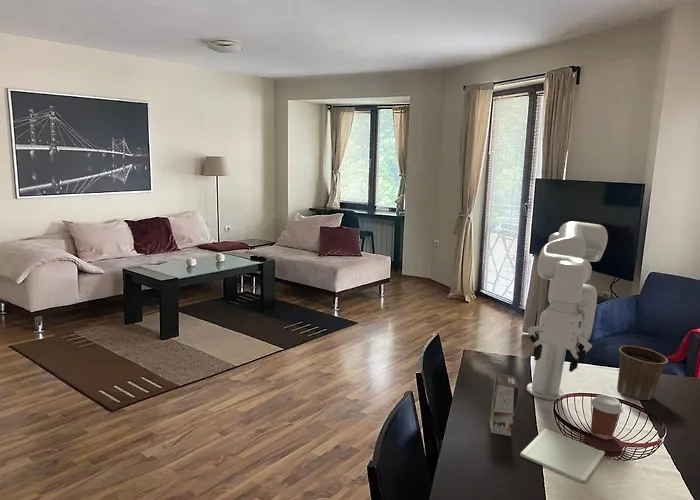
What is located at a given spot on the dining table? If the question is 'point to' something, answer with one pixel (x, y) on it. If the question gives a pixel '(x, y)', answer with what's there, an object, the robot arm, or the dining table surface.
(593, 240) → the robot arm
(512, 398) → the coffee box
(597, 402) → the coffee cup
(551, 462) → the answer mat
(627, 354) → the plant pot
